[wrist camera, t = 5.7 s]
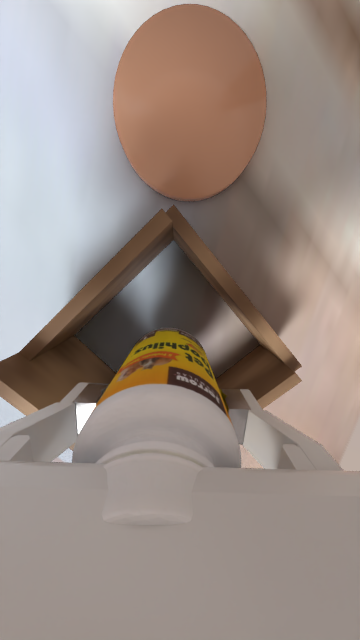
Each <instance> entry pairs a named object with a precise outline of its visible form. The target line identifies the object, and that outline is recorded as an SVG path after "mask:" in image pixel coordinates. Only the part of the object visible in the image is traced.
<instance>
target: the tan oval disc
mask: <svg viewBox="0 0 360 640" xmlns="http://www.w3.org/2000/svg"><path fill="white" fill-rule="evenodd" d="M113 109H114V119H115V124H116V129H117V132H118V136H119V139H120V142H121V144H122V146H123V149H124V151H125V154H126V156H127V158H128V160H129V162H130V164H131V166H132V167H133V169H134V170H135V172H136V173H137V174H138V176H139V177H140V178H141V179H142V180H143V181H144V182H145V183H146V184H147V185H148V186H149V187H151V188H152V189H153V190H155V191H156V192H158V193H159V194H161V195H163V196H166V197H168V198H171V199H174V200H179V201H199V200H204V199H207V198H210V197H212V196H215V195H217V194H219V193H220V192H222V191H223V190H225V189H226V188H228V187H229V186H230V185H231V184H232V183H233V182H234V181H235V180H236V179H237V178H238V177H239V176H240V174H241V173H242V172H243V170H244V169H245V167H246V166H247V164H248V163H249V161H250V159H251V158H252V156H253V154H254V152H255V150H256V148H257V146H258V143H259V141H260V138H261V134H262V131H263V127H264V122H265V116H266V86H265V79H264V74H263V70H262V66H261V63H260V61H259V58H258V55H257V53H256V51H255V49H254V47H253V45H252V43H251V42H250V40H249V39H248V37H247V36H246V34H245V33H244V32H243V31H242V29H241V28H240V27H239V26H238V25H237V24H236V23H235V22H234V21H232V20H231V19H230V18H229V17H228V16H226V15H224V14H223V13H221V12H219V11H218V10H215V9H213V8H210V7H208V6H203V5H198V4H182V5H176V6H172V7H170V8H167V9H164V10H162V11H160V12H158V13H157V14H155V15H153V16H152V17H151V18H149V19H148V20H147V21H146V22H144V23H143V24H142V26H141V27H140V28H139V29H138V30H137V31H136V32H135V34H134V35H133V36H132V38H131V39H130V41H129V42H128V44H127V46H126V48H125V50H124V52H123V54H122V57H121V59H120V62H119V65H118V68H117V72H116V76H115V82H114V90H113Z"/></svg>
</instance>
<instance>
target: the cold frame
mask: <svg viewBox="0 0 360 640" xmlns="http://www.w3.org/2000/svg"><path fill="white" fill-rule="evenodd" d="M173 240H174V241H175V242H176V243H177V244H178V246H179V247H180V248H181V249H182V250H183V252H184V253H185V254H186V255H187V256H188V258H189V259H190V260H191V261H192V263H193V264H194V265H195V266H196V267H197V269H198V270H199V271H200V272H201V273H202V275H203V276H204V277H205V278H206V279H207V281H208V282H209V283H210V284H211V285H212V287H213V288H214V289H215V290H216V291H217V293H218V294H219V295H220V296H221V297H222V299H223V300H224V301H225V302H226V303H227V305H228V306H229V307H230V308H231V309H232V311H233V312H234V313H235V314H236V315H237V317H238V318H239V319H240V320H241V322H242V323H243V324H244V325H245V326H246V328H247V329H248V330H249V331H250V332H251V334H252V335H253V336H254V337H255V338H256V340H257V341H258V342H259V343H260V344H261V345H259V346H258V347H257V348H256V349H254V350H253V351H252V352H250V353H249V354H248V355H246V356H245V357H244V358H243V359H241V360H240V361H239V362H237V363H236V364H235V365H234V366H232V367H231V368H230V369H228V370H227V371H226V372H225V373H223V374H222V375H221V376H219V377H218V378H217V379H215V380H216V382H217V385H218V388H219V389H248V390H250V391H251V393H252V394H253V396H254V397H255V399H256V400H257V402H258V403H259V405H260V406H261V408H262V409H263V408H265V407H266V406H267V405H269V404H270V403H272V402H273V401H274V400H276V399H277V398H279V397H280V396H281V395H283V394H284V393H286V392H287V391H289V390H290V389H291V388H293V387H294V386H296V385H297V384H298V383H300V382H301V381H302V380H301V379H300V378H299V376H298V375H297V374H296V373H295V371H296V370H297V369H299V368H300V367H301V364H300V363H299V362H298V360H297V359H296V358H295V357H294V355H293V354H292V353H291V352H290V350H289V349H288V348H287V347H286V345H285V344H284V343H283V342H282V340H281V339H280V338H279V337H278V335H277V334H276V333H275V332H274V330H273V329H272V328H271V326H270V325H269V324H268V323H267V321H266V320H265V319H264V318H263V316H262V315H261V314H260V313H259V311H258V310H257V309H256V308H255V306H254V305H253V304H252V303H251V301H250V300H249V299H248V298H247V296H246V295H245V294H244V292H243V291H242V290H241V289H240V287H239V286H238V285H237V284H236V282H235V281H234V280H233V279H232V277H231V276H230V275H229V274H228V272H227V271H226V270H225V269H224V267H223V266H222V265H221V263H220V262H219V261H218V260H217V258H216V257H215V256H214V255H213V253H212V252H211V251H210V250H209V248H208V247H207V246H206V245H205V243H204V242H203V241H202V240H201V238H200V237H199V236H198V235H197V233H196V232H195V231H194V229H193V228H192V227H191V226H190V224H189V223H188V222H187V221H186V219H185V218H184V217H183V216H182V214H181V213H180V212H179V211H178V209H177V208H176V207H175V206H174V205H173V206H172V207H171V208H170V209H169V210H168V211H167V212H166V213H165V212H164V210H163V209H161V210H160V211H159V212H158V213H157V214H156V215H155V216H154V217H153V218H152V219H151V220H150V221H149V222H148V223H147V224H146V225H145V226H144V227H143V228H142V229H141V230H140V231H139V232H138V233H137V234H136V235H135V236H134V237H133V238H132V239H131V240H130V241H129V242H128V243H127V244H126V245H125V246H124V247H123V248H122V249H121V250H120V251H119V252H118V253H117V254H116V255H115V256H114V257H113V258H112V259H111V260H110V261H109V262H108V263H107V264H106V265H105V266H104V267H103V268H102V269H101V270H100V271H99V272H98V273H97V274H96V275H95V276H94V277H93V278H92V279H91V280H90V281H89V282H88V283H87V284H86V285H85V286H84V287H83V288H82V289H81V290H80V291H79V292H78V293H77V295H76V296H75V297H74V298H73V299H72V300H71V301H70V302H69V303H68V304H67V305H66V306H65V307H64V308H63V309H62V310H61V311H60V312H59V313H58V314H57V315H56V316H55V317H54V318H53V319H52V320H51V321H50V322H49V323H48V324H47V325H46V326H45V327H44V328H43V329H42V330H41V331H40V332H39V333H38V334H37V335H36V336H35V337H34V338H33V339H32V340H31V341H30V342H29V343H28V344H27V345H26V346H25V347H24V348H23V349H22V350H21V351H20V352H19V353H17V354H15V355H13V356H11V357H9V358H7V359H4V360H2V361H0V397H2V398H3V399H4V400H6V401H7V402H8V403H10V404H11V405H12V406H14V407H15V408H16V409H18V410H19V411H20V412H22V413H23V414H24V415H26V416H27V415H30V414H32V413H34V412H36V411H38V410H41V409H43V408H45V407H47V406H49V405H52V404H54V403H56V402H58V403H60V401H61V400H62V399H63V398H64V397H65V396H66V395H67V394H68V393H69V392H70V391H71V390H72V389H73V388H74V387H75V386H76V385H77V384H78V383H80V382H85V383H102V384H110V383H111V381H112V380H113V378H114V377H115V375H116V373H115V372H114V371H113V370H112V369H111V368H109V367H108V366H107V365H106V364H105V363H104V362H103V361H102V360H101V359H100V358H98V357H97V356H96V355H95V354H94V353H93V352H92V351H91V350H90V349H89V348H87V347H86V346H85V345H84V344H83V343H82V342H81V341H80V340H79V339H78V338H76V337H75V336H74V335H75V334H76V333H77V332H78V331H79V330H80V329H82V328H83V327H84V326H85V325H86V324H87V323H88V322H89V321H90V320H91V319H92V318H93V317H94V316H95V315H96V314H97V313H98V312H99V311H100V310H101V309H102V308H103V307H104V306H105V305H106V304H108V303H109V302H110V301H111V300H112V299H113V298H114V297H115V296H116V295H117V294H118V293H119V292H120V291H121V290H122V289H123V288H124V287H125V286H126V285H127V284H128V283H129V282H130V281H131V280H132V279H134V278H135V277H136V276H137V275H138V274H139V273H140V272H141V271H142V270H143V269H144V268H145V267H146V266H147V265H148V264H149V263H150V262H151V261H152V260H153V259H154V258H155V257H156V256H157V255H158V254H160V253H161V252H162V251H163V250H164V249H165V248H166V247H167V246H168V245H169V244H170V243H171V242H172V241H173ZM74 446H75V443H74V444H72V445H71V446H70V447H69V448H70V449H71V450H72V451H73V449H74Z"/></svg>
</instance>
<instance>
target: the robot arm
mask: <svg viewBox="0 0 360 640" xmlns="http://www.w3.org/2000/svg"><path fill="white" fill-rule="evenodd" d="M108 386H109V384H102V383H85V382H80V383H78V384H77V385H76V386H75V387H74V388H73V389H72V390H71V391H70V392H69V393H68V394H67V395H66V396H65V397H64V398H63V399H62V400H61V401H60V403H58V402H56V403H54V404H52V405H49V406H47V407H45V408H43V409H41V410H38V411H36V412H34V413H32V414H30V415H27V416H25V417H23V418H21V419H19V420H16V421H14V422H12V423H10V424H8V425H5V426H3V427H1V428H0V640H360V471H344V470H343V469H342V468H341V467H340V466H339V465H338V463H337V462H336V461H335V460H334V459H333V458H332V456H331V455H330V454H329V453H328V452H327V451H326V450H325V448H324V447H323V446H322V445H321V444H319V443H318V442H316V441H314V440H313V439H311V438H310V437H308V436H306V435H305V434H303V433H302V432H300V431H298V430H297V429H295V428H293V427H292V426H290V425H289V424H287V423H285V422H284V421H282V420H281V419H279V418H277V417H276V416H274V415H273V414H271V413H269V412H268V411H264V410H263V409H262V408H261V406H260V405H259V403H258V402H257V400H256V399H255V397H254V396H253V394H252V393H251V391H250V390H248V389H219V390H220V393H221V396H222V398H223V401H224V404H225V406H226V409H227V411H228V414H229V417H230V419H231V422H232V425H233V427H234V430H235V433H236V436H237V439H238V442H239V444H242V445H243V446H244V447H245V448H246V449H247V451H248V452H249V453H250V454H251V455H252V456H253V457H254V458H255V459H256V460H257V461H258V462H259V463H260V465H261V466H262V467H263V468H264V469H261V468H227V467H203V469H202V470H201V471H199V472H198V474H197V476H196V479H195V482H194V485H193V489H192V492H191V493H192V509H193V516H192V519H191V521H189V522H187V523H183V524H175V525H127V524H116V523H109V522H106V521H104V520H103V517H102V511H103V507H104V504H105V500H106V497H107V493H108V490H109V489H108V483H107V471H106V469H105V468H104V467H103V466H104V465H106V464H98V463H64V462H52V461H53V460H54V459H55V458H57V457H58V456H59V455H60V454H61V453H63V452H64V451H65V450H66V449H68V448H69V447H70V446H71V445H72V444H74V443H75V442H76V439H77V437H78V434H79V432H80V430H81V428H82V426H83V425H84V423H85V421H86V420H87V418H88V416H89V415H90V413H91V412H92V410H93V409H94V407H95V406H96V404H97V403H98V401H99V400H100V398H101V397H102V395H103V394H104V392H105V390H106V389H107V387H108Z"/></svg>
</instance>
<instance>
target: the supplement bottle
mask: <svg viewBox="0 0 360 640" xmlns="http://www.w3.org/2000/svg"><path fill="white" fill-rule="evenodd" d="M72 463H98V464H106V465H104V466H103V467H104V468H105V469H106V471H107V483H108V489H109V490H108V493H107V497H106V500H105V504H104V507H103V511H102V517H103V520H104V521H106V522H109V523H116V524H127V525H175V524H183V523H187V522H189V521H191V519H192V516H193V509H192V493H191V492H192V489H193V485H194V482H195V479H196V476H197V474H198V472H199V471H201V470H202V469H203V467H227V468H241V452H240V447H239V442H238V439H237V436H236V433H235V430H234V427H233V425H232V422H231V419H230V417H229V414H228V411H227V409H226V406H225V404H224V401H223V398H222V396H221V393H220V390H219V388H218V385H217V382H216V380H215V377H214V375H213V372H212V369H211V367H210V364H209V362H208V359H207V357H206V353H205V351H204V349H203V347H202V346H201V344H200V343H199V342H198V340H197V339H196V338H195V337H193V336H192V335H191V334H189V333H187V332H185V331H183V330H180V329H176V328H161V329H157V330H154V331H151V332H149V333H148V334H146V335H144V336H143V337H142V338H141V339H140V340H139V341H138V342H137V343H136V344H135V346H134V347H133V349H132V351H131V352H130V354H129V355H128V357H127V358H126V360H125V361H124V363H123V364H122V366H121V367H120V369H119V371H118V372H117V374H116V375H115V377H114V378H113V380H112V381H111V383H110V384H109V386H108V387H107V389H106V390H105V392H104V394H103V395H102V397H101V398H100V400H99V401H98V403H97V404H96V406H95V407H94V409H93V410H92V412H91V413H90V415H89V416H88V418H87V420H86V421H85V423H84V425H83V426H82V428H81V430H80V432H79V434H78V437H77V439H76V442H75V446H74V449H73V456H72Z"/></svg>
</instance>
